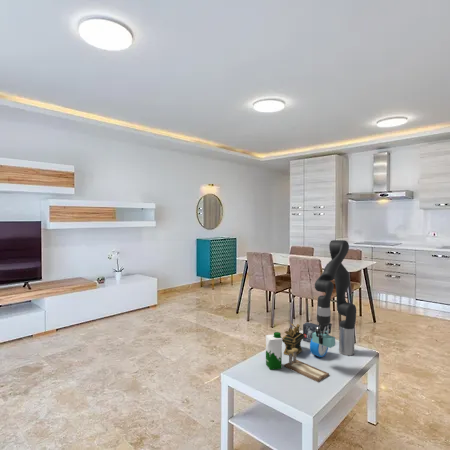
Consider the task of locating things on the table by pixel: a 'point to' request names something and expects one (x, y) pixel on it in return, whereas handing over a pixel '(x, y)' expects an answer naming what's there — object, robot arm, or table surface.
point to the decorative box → (293, 339)
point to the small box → (308, 331)
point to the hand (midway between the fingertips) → (323, 342)
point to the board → (304, 367)
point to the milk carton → (274, 351)
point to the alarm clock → (318, 349)
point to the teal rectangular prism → (324, 340)
